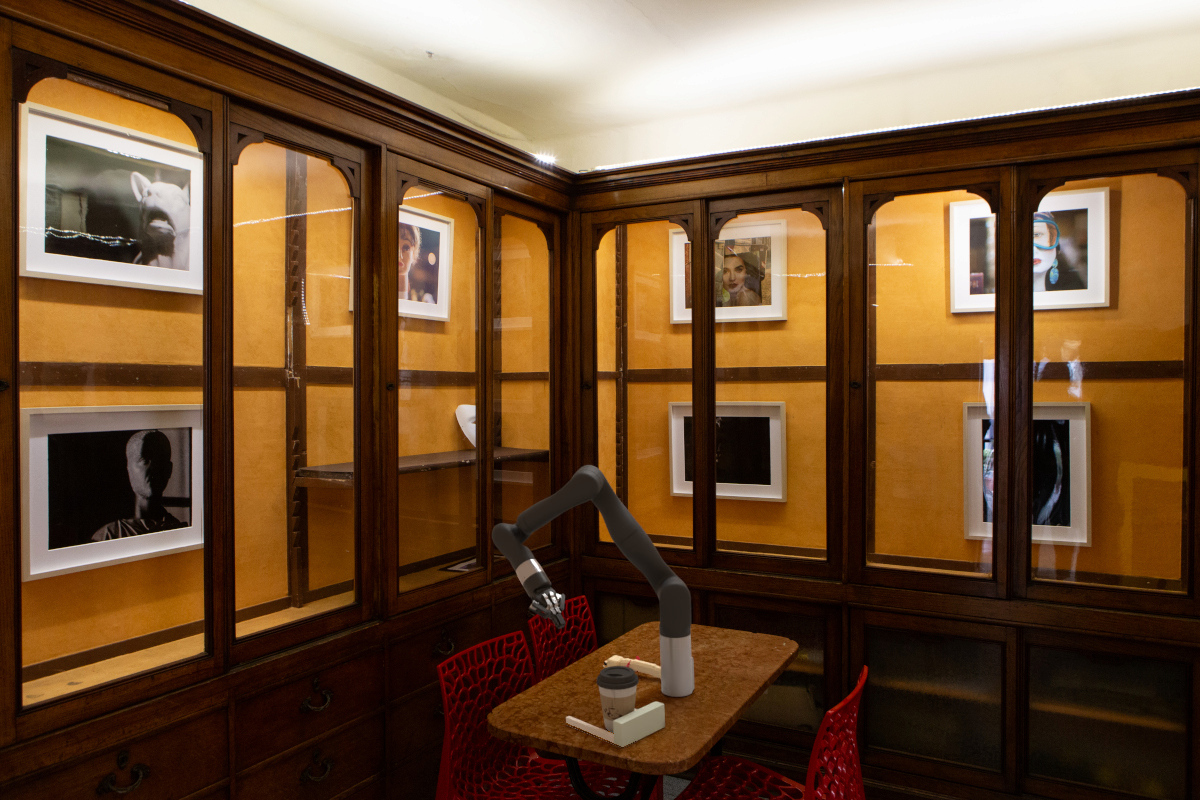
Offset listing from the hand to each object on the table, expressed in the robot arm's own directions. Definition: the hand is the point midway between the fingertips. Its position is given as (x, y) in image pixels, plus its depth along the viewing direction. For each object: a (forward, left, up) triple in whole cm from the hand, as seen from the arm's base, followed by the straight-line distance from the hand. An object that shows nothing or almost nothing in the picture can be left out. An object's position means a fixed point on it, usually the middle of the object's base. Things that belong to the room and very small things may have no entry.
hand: (562, 626), depth 216 cm
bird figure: (-31, 0, -23) cm, 39 cm away
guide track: (0, +20, -23) cm, 30 cm away
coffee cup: (0, +22, -23) cm, 32 cm away
